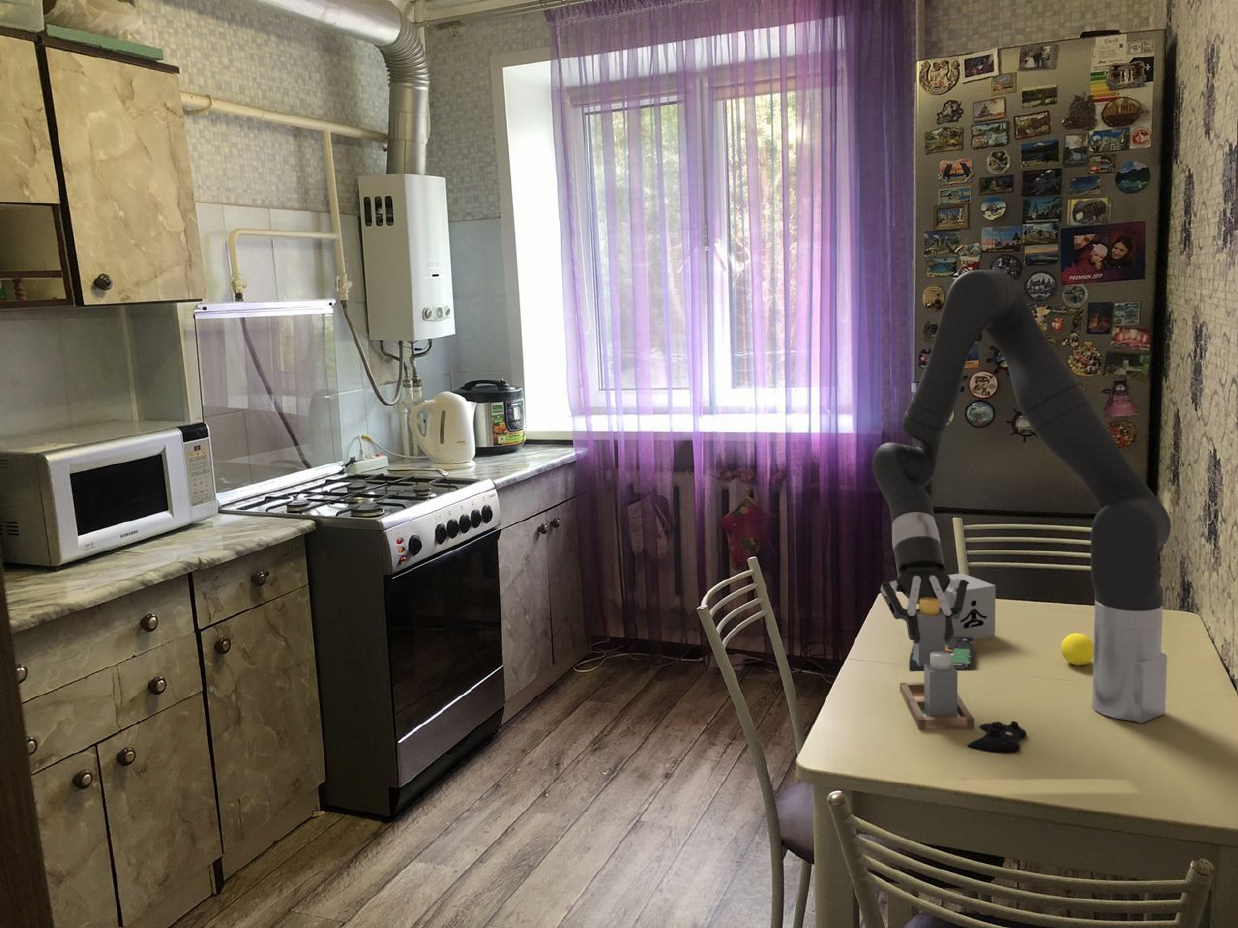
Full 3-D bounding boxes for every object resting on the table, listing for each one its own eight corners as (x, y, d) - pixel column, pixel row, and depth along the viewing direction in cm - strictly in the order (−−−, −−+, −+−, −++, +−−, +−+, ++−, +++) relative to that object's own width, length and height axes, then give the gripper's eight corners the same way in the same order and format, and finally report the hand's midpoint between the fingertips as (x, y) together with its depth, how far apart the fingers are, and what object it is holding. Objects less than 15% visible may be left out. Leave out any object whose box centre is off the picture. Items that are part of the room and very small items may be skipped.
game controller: (974, 724, 152) (1015, 705, 148) (993, 754, 151) (1035, 736, 147) (958, 749, 143) (1001, 730, 140) (978, 781, 143) (1022, 763, 139)
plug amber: (939, 656, 161) (939, 596, 160) (945, 665, 157) (945, 603, 156) (913, 657, 162) (913, 596, 160) (918, 665, 158) (919, 604, 156)
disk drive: (915, 647, 190) (909, 674, 177) (914, 633, 190) (909, 658, 176) (973, 651, 187) (971, 678, 173) (973, 636, 186) (971, 663, 173)
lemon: (1092, 674, 173) (1093, 645, 172) (1058, 669, 176) (1058, 641, 174) (1096, 655, 179) (1096, 628, 177) (1062, 652, 181) (1063, 624, 180)
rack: (950, 697, 164) (950, 682, 164) (974, 736, 149) (974, 719, 149) (900, 698, 165) (899, 682, 164) (918, 736, 150) (918, 719, 150)
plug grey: (950, 712, 155) (951, 649, 154) (957, 722, 151) (957, 658, 150) (924, 712, 156) (924, 650, 154) (929, 723, 152) (929, 659, 150)
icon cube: (918, 628, 199) (918, 579, 198) (961, 621, 202) (961, 573, 201) (950, 643, 190) (950, 592, 188) (995, 636, 193) (995, 585, 191)
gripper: (875, 535, 165) (888, 630, 155) (965, 533, 163) (984, 629, 153) (870, 558, 171) (882, 652, 161) (957, 557, 169) (974, 651, 159)
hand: (932, 640), depth 157 cm, fingers closed on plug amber, 4 cm apart
